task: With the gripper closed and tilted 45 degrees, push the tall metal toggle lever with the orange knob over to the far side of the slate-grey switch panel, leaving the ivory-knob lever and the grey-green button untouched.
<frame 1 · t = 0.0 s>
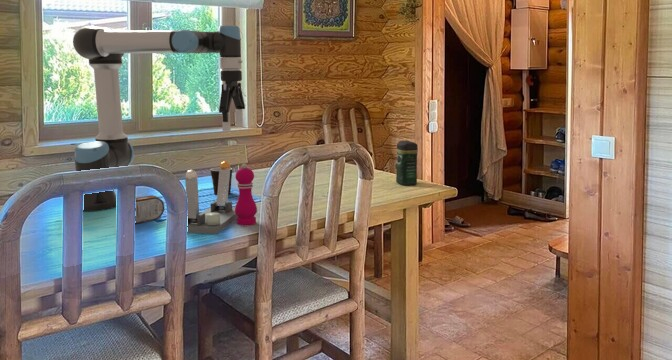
hand: (233, 129, 222), 28 cm above the table, tool pointing down, fingers open, 13 cm apart
push button: (212, 218, 191), point 4 cm above the table, slide at 0.0 cm
toggle lever orange: (223, 185, 209), point 10 cm above the table, hinge at -20.0°
tin: (143, 222, 203), on the table
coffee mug: (223, 193, 245), on the table
toggle lever ivory: (192, 196, 191), point 11 cm above the table, hinge at 0.0°
switch panel: (214, 222, 202), on the table
pepper mill: (246, 223, 200), on the table
coffee jar: (406, 184, 261), on the table
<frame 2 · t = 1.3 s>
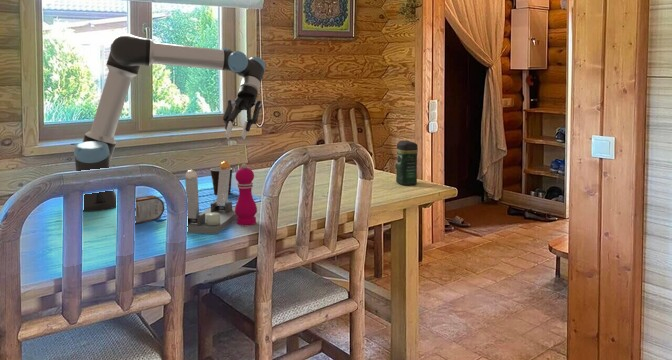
hand: (234, 137, 228), 24 cm above the table, tool tilted 45°, fingers open, 6 cm apart
nothing on the table moved.
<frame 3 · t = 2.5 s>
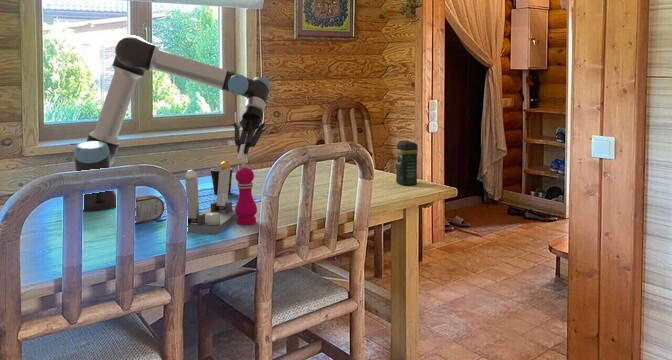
hand: (240, 160, 224), 16 cm above the table, tool tilted 45°, fingers closed
nothing on the table moved.
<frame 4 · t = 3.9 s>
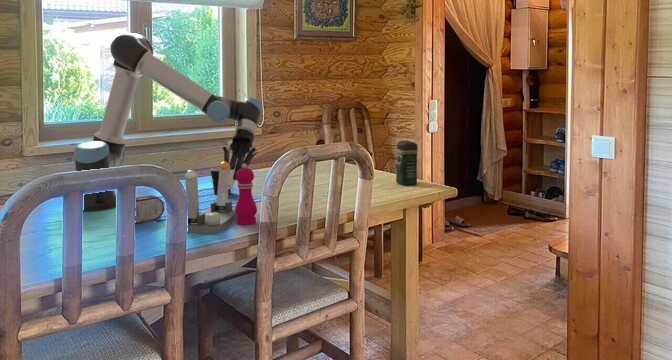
hand: (229, 186, 215), 9 cm above the table, tool tilted 45°, fingers closed
nothing on the table moved.
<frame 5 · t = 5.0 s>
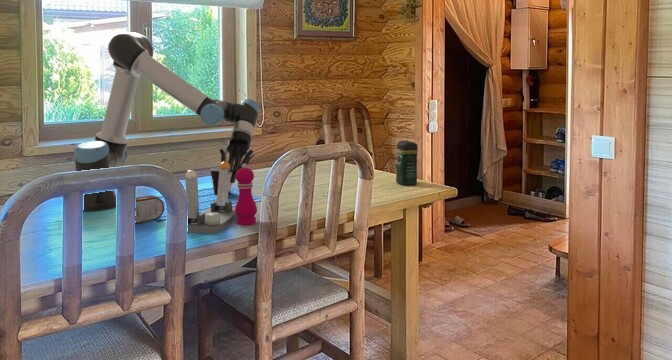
hand: (226, 189, 211), 8 cm above the table, tool tilted 45°, fingers closed
toggle lever orange: (223, 185, 209), point 10 cm above the table, hinge at -20.0°, touching gripper
everything else where it was.
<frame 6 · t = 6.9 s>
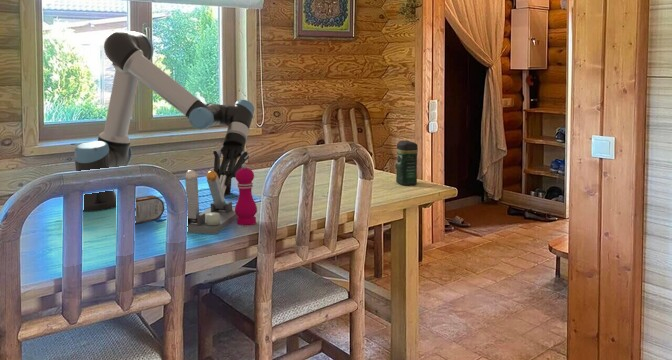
hand: (220, 193, 206), 9 cm above the table, tool tilted 45°, fingers closed, pressing on toggle lever orange
toggle lever orange: (216, 191, 203), point 10 cm above the table, hinge at 29.4°, touching gripper
everything else where it was.
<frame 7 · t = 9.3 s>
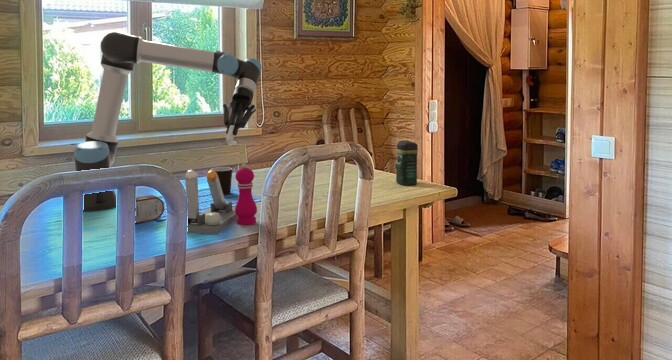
hand: (228, 141, 221), 24 cm above the table, tool tilted 45°, fingers closed
toggle lever orange: (216, 191, 203), point 10 cm above the table, hinge at 29.4°
everything else where it was.
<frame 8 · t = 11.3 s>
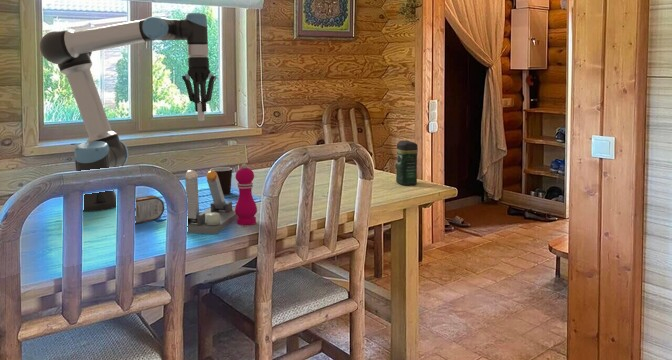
hand: (201, 120, 228), 30 cm above the table, tool pointing down, fingers closed
nothing on the table moved.
at the end: toggle lever orange at +29° (first picture: -20°); toggle lever ivory at +0° (first picture: +0°); push button slide at 0.0 cm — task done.
